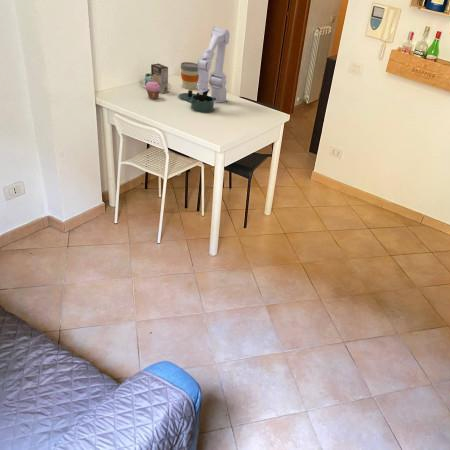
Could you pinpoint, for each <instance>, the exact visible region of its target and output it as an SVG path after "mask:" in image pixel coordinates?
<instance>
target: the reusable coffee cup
mask: <svg viewBox="0 0 450 450" xmlns="http://www.w3.org/2000/svg"><path fill="white" fill-rule="evenodd" d="M180 75H181V77H180V78H181V81H182V87H183V88H184V89H187V90H196V87H198V82H199V72H198V68H197V63H195V62H190V61H189V62H188V61H184V62H181V63H180Z"/></svg>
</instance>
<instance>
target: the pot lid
mask: <svg viewBox="0 0 450 450" xmlns="http://www.w3.org/2000/svg"><path fill="white" fill-rule="evenodd" d="M193 95H197V93H193V90H192V89H187V92H182V93H179V94H178V98H179V99H180V100H183V101H187V102H188V100H191V97H192V96H193Z"/></svg>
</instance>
